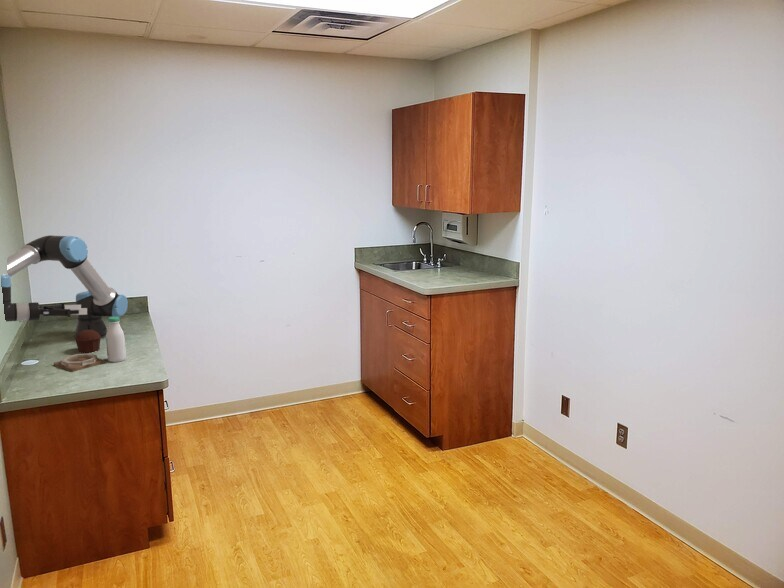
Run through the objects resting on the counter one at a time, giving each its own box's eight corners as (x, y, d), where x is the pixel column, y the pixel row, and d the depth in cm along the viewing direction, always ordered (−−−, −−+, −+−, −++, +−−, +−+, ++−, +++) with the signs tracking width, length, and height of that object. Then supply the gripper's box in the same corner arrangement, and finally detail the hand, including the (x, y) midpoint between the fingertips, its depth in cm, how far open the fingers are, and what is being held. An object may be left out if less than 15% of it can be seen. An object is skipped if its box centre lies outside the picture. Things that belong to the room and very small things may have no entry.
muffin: (103, 352, 289) (101, 331, 287) (77, 355, 284) (75, 334, 282) (100, 346, 299) (98, 326, 297) (75, 349, 294) (73, 329, 292)
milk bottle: (130, 358, 280) (126, 316, 276) (117, 363, 273) (114, 320, 269) (116, 356, 282) (113, 314, 278) (104, 361, 275) (100, 318, 271)
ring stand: (86, 357, 281) (86, 351, 281) (105, 362, 273) (104, 356, 273) (53, 365, 269) (53, 359, 268) (72, 371, 261) (71, 365, 260)
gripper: (24, 316, 265) (78, 314, 278) (32, 324, 245) (89, 321, 258) (24, 299, 264) (78, 298, 277) (31, 306, 245) (89, 304, 257)
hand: (84, 309), depth 268 cm, fingers open, 13 cm apart
